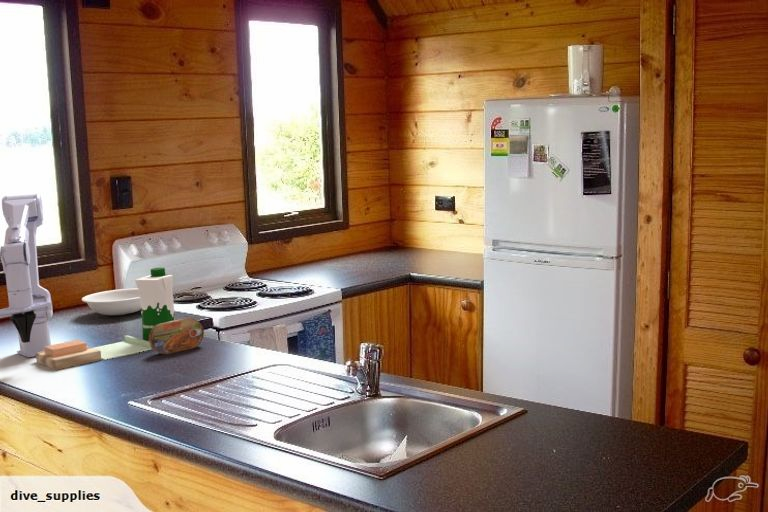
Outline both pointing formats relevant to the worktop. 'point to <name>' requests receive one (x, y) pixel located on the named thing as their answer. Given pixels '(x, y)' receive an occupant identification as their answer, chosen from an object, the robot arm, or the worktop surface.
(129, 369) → the worktop surface
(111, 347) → the mat
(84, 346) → the tile
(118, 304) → the soup bowl
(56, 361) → the wooden board
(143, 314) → the milk carton
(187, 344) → the tin
